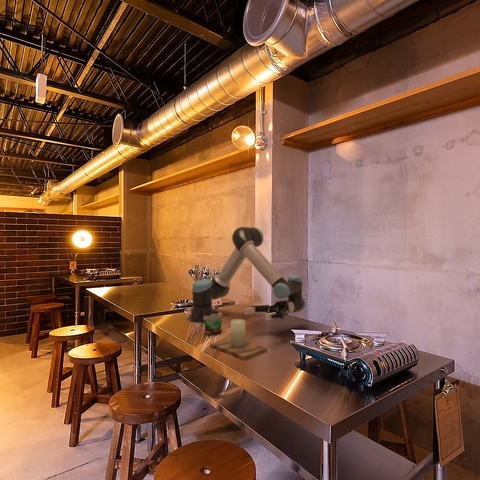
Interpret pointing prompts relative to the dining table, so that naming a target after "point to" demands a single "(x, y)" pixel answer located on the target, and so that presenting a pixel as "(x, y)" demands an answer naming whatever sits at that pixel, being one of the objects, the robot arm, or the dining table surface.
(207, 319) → the food container
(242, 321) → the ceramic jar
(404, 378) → the dining table surface
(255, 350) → the walnut board
